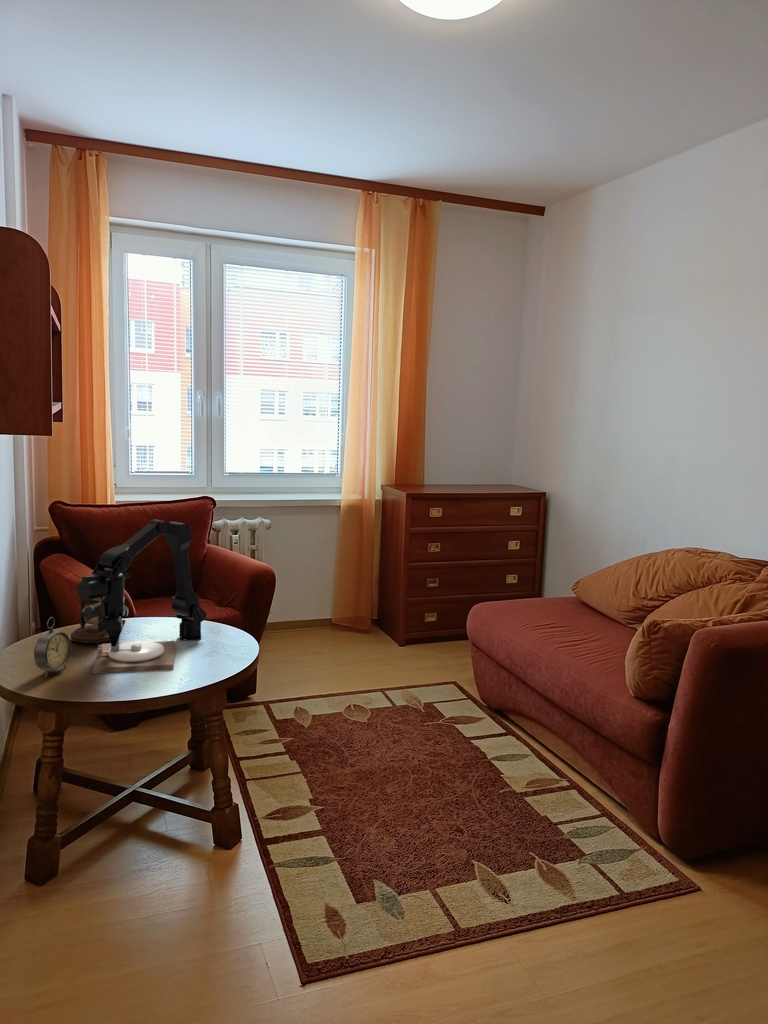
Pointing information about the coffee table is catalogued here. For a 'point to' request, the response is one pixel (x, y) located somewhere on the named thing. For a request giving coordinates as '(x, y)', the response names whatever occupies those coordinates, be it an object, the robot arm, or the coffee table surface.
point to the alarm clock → (52, 650)
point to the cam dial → (135, 651)
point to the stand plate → (110, 665)
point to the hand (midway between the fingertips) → (113, 646)
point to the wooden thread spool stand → (89, 627)
